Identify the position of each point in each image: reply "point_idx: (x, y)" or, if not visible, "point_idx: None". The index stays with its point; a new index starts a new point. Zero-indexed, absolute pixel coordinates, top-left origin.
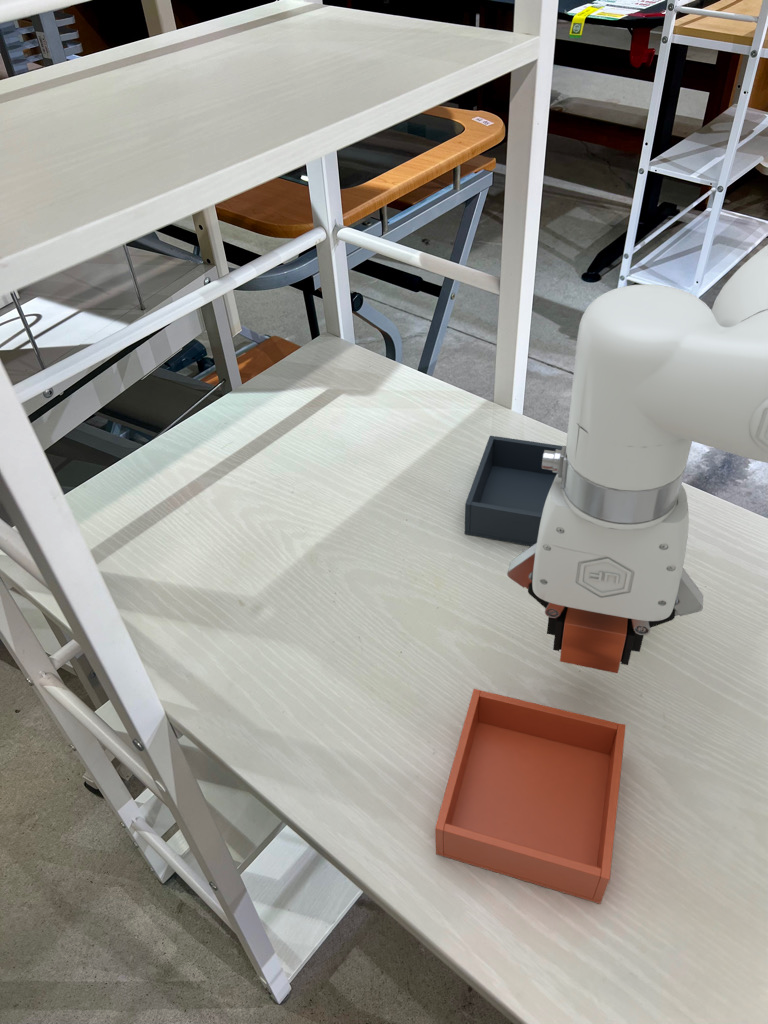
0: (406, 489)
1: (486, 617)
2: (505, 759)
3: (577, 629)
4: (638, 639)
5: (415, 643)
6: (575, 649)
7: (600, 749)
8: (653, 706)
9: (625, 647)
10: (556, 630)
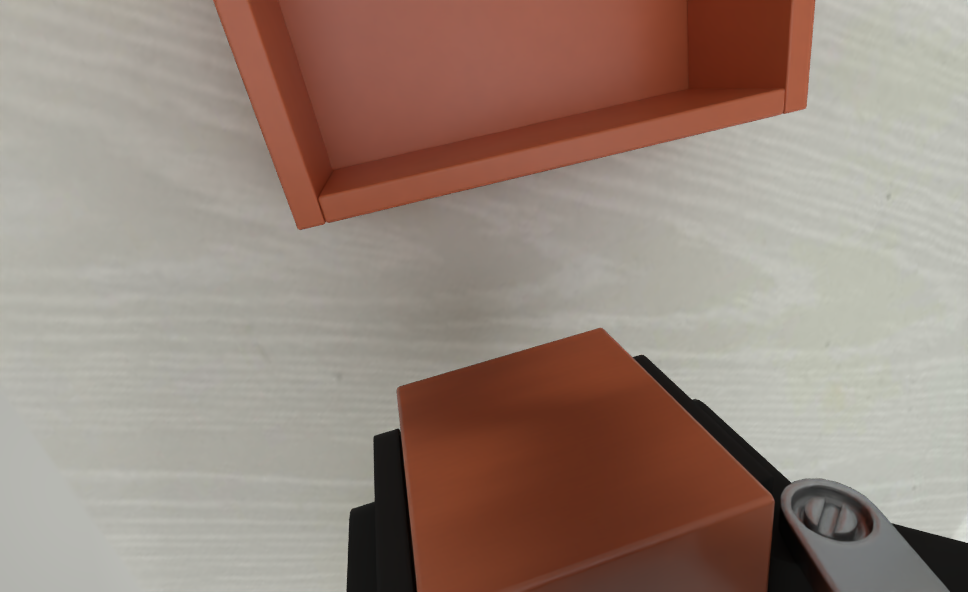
0: None
1: (724, 376)
2: (588, 5)
3: (685, 497)
4: (365, 577)
5: (860, 235)
6: (596, 391)
7: (360, 165)
8: (298, 364)
9: (404, 511)
10: (717, 430)
